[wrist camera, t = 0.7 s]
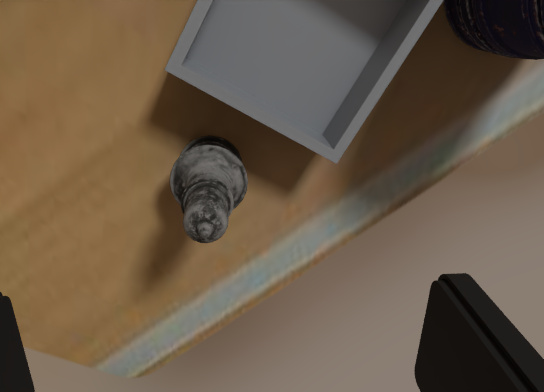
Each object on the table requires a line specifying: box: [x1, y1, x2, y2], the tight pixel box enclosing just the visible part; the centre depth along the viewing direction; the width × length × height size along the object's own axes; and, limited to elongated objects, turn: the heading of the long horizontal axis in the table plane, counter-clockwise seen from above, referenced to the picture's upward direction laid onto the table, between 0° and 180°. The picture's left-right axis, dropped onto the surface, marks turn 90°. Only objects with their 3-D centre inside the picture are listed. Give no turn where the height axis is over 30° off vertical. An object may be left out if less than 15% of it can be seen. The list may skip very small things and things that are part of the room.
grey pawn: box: [170, 136, 248, 243], centre depth 31 cm, size 6×6×12 cm
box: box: [165, 0, 443, 164], centre depth 31 cm, size 14×14×5 cm
